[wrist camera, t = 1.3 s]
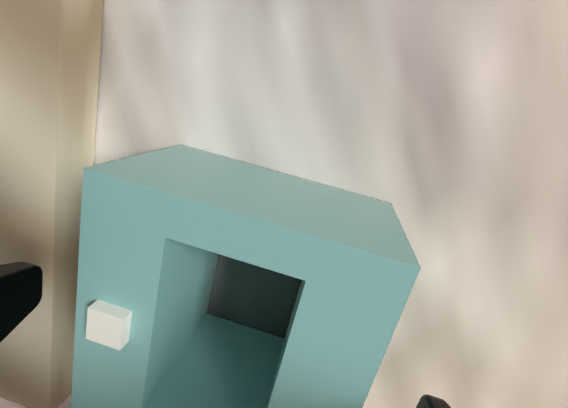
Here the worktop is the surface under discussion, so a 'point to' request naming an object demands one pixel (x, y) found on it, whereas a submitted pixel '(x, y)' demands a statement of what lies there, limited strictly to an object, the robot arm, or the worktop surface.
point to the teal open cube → (200, 275)
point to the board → (45, 179)
